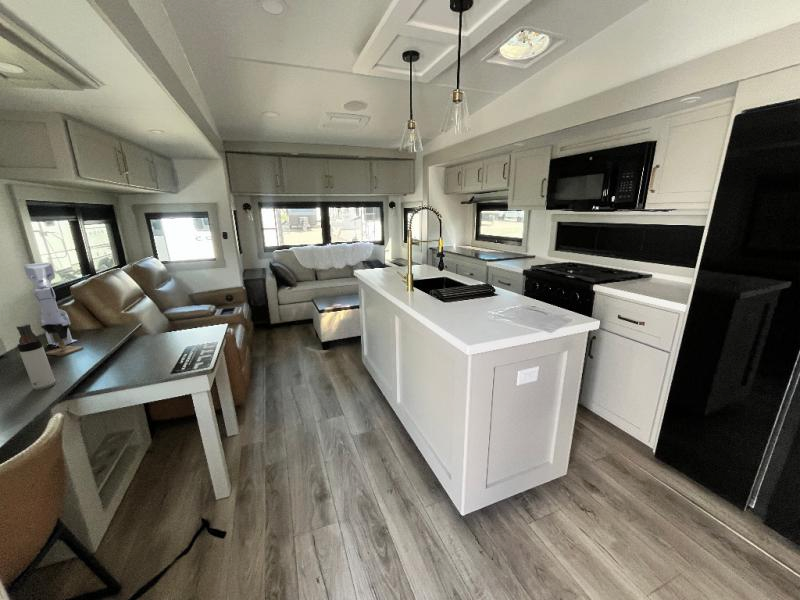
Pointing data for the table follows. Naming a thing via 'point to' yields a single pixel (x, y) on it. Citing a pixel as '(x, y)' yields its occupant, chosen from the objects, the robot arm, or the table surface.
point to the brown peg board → (63, 350)
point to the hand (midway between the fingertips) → (59, 337)
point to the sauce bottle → (26, 333)
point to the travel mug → (36, 364)
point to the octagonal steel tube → (56, 337)
